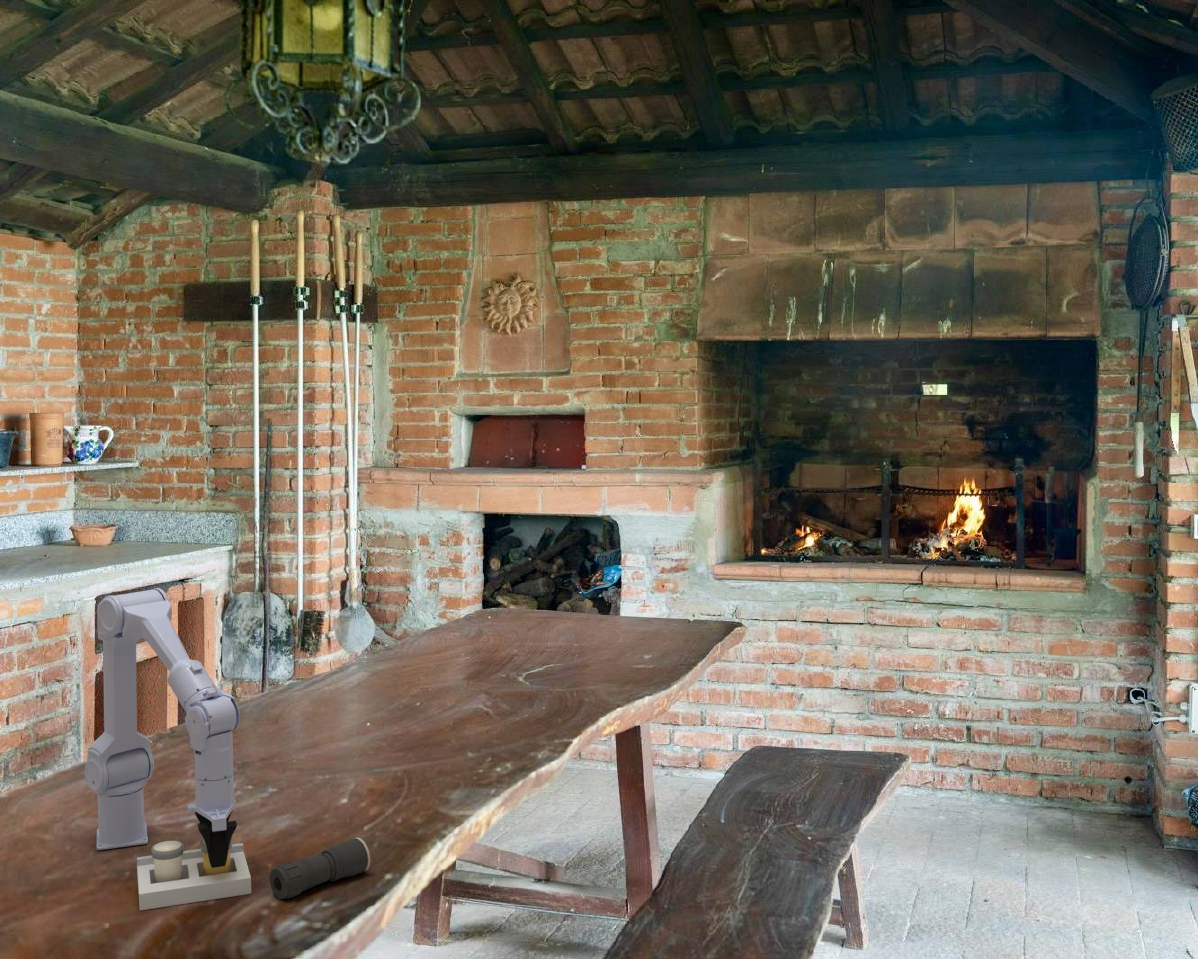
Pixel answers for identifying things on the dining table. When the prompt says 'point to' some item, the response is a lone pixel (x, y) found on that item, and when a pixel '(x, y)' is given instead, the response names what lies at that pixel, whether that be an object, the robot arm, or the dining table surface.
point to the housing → (192, 881)
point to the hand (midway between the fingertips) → (216, 860)
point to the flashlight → (320, 868)
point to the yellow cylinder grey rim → (206, 863)
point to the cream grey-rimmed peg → (167, 861)
